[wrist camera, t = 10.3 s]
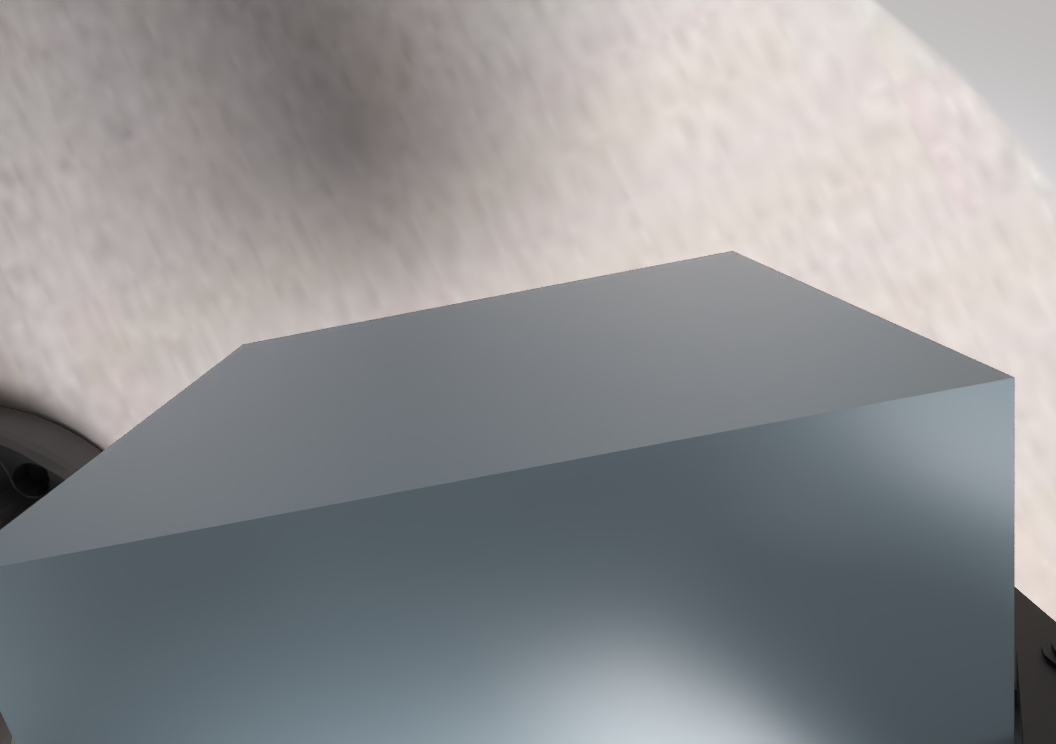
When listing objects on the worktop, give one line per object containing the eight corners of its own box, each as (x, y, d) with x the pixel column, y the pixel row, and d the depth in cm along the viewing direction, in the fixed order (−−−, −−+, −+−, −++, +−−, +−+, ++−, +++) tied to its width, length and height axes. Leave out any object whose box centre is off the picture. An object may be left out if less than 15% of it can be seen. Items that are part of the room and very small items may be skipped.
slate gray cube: (364, 741, 18) (249, 1240, 10) (243, 344, 16) (-63, 577, 7) (777, 667, 18) (1013, 1113, 10) (732, 250, 15) (1014, 376, 7)
